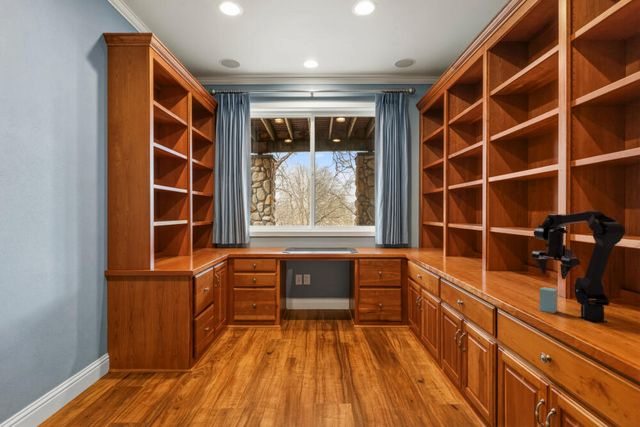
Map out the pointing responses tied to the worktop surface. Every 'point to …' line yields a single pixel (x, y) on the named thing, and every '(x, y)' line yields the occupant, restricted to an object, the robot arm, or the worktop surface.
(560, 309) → the worktop surface
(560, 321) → the worktop surface
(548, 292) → the pale teal block
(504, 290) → the worktop surface
